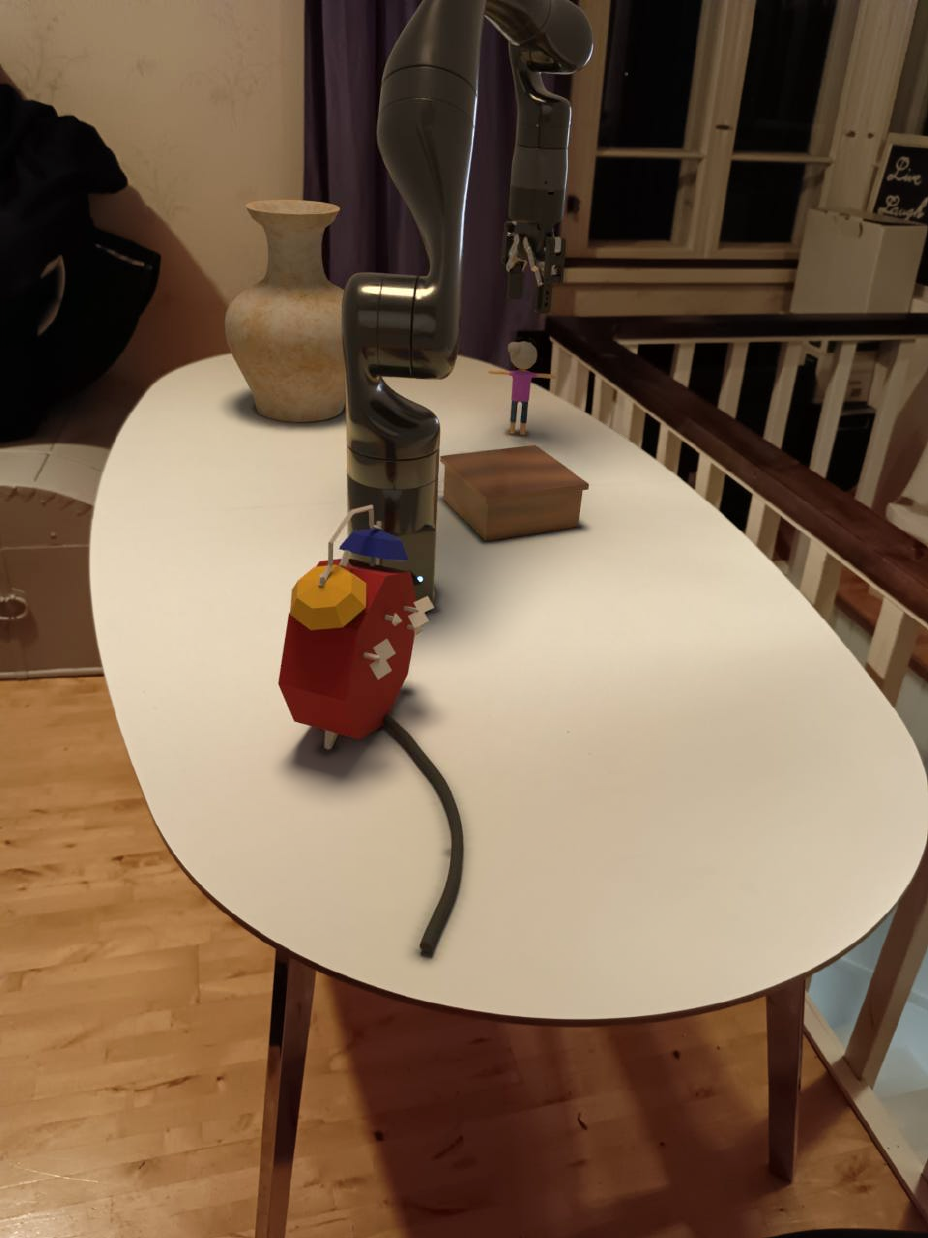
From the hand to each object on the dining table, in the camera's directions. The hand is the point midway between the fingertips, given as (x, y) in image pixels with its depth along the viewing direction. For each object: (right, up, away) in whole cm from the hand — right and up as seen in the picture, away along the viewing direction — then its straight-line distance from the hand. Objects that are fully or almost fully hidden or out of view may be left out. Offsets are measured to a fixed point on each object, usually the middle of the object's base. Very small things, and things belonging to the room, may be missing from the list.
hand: (527, 305), depth 138 cm
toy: (-1, -17, +10) cm, 20 cm away
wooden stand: (-3, -31, -14) cm, 35 cm away
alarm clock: (-18, -54, -53) cm, 78 cm away
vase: (-36, -11, +17) cm, 41 cm away
